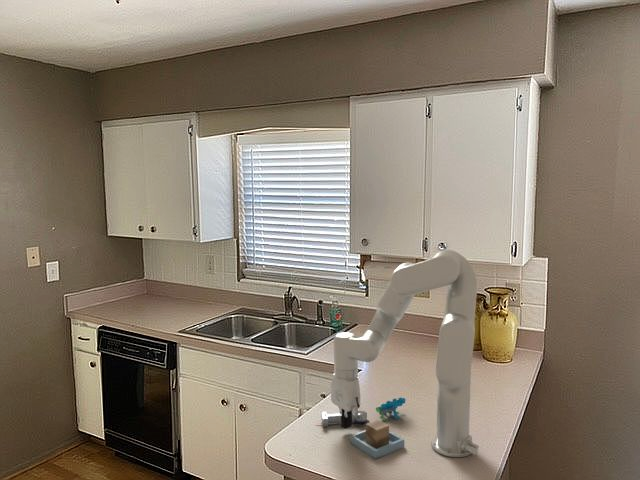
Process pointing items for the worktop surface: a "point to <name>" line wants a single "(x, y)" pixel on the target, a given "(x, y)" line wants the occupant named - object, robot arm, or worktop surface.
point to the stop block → (377, 434)
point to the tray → (393, 445)
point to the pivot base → (354, 424)
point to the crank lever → (336, 418)
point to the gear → (390, 407)
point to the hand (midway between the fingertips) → (346, 426)
